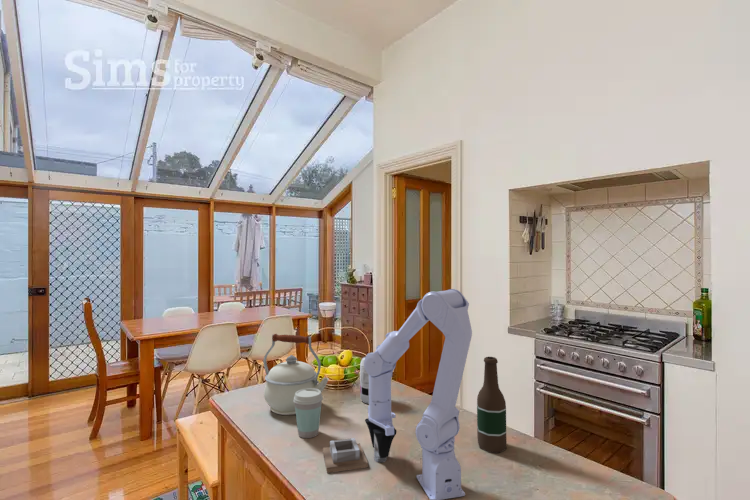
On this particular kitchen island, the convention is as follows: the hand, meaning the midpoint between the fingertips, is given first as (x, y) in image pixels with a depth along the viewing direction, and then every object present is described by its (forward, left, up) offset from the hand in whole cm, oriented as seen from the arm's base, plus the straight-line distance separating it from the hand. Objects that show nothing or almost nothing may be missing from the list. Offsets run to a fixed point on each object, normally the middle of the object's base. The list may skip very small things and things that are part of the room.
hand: (380, 451), depth 98 cm
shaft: (0, 0, -2) cm, 2 cm away
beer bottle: (-1, -31, -2) cm, 31 cm away
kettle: (+40, +20, -2) cm, 45 cm away
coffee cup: (+19, +17, -2) cm, 26 cm away
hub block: (+2, +9, -2) cm, 9 cm away
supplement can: (+40, -7, -2) cm, 41 cm away
